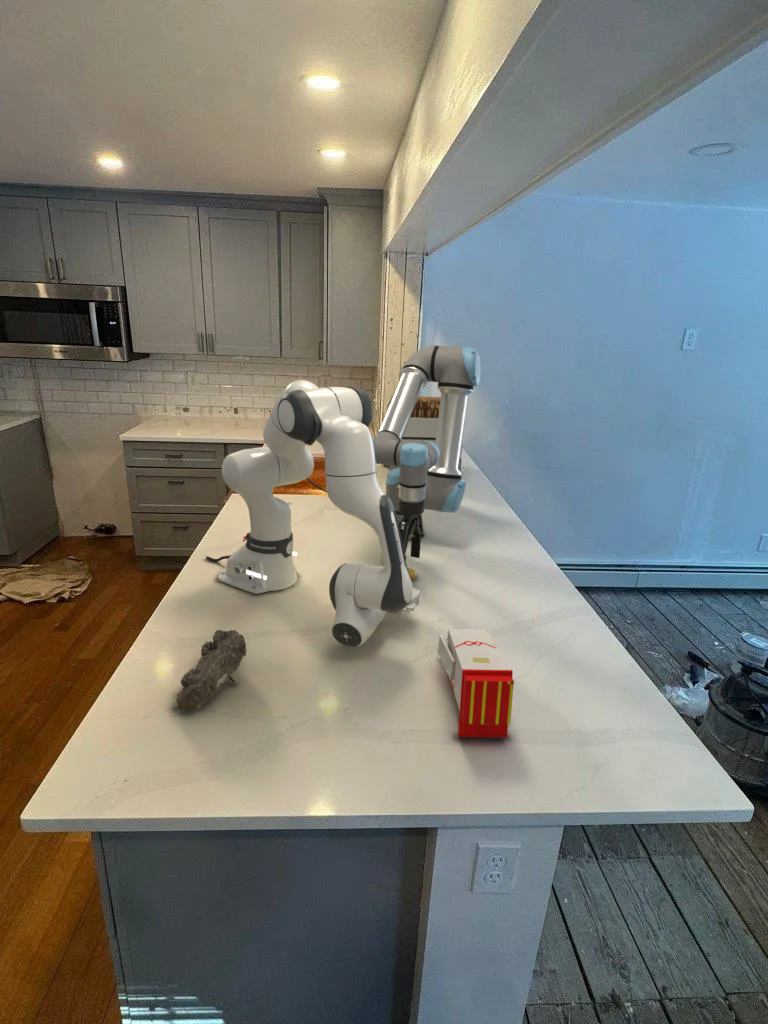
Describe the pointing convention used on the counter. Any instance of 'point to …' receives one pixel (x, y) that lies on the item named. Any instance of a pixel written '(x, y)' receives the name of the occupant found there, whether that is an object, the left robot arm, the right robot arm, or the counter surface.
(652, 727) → the counter surface
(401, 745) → the counter surface
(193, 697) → the fossil
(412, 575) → the lid
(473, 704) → the toy
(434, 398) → the grey slatted box
